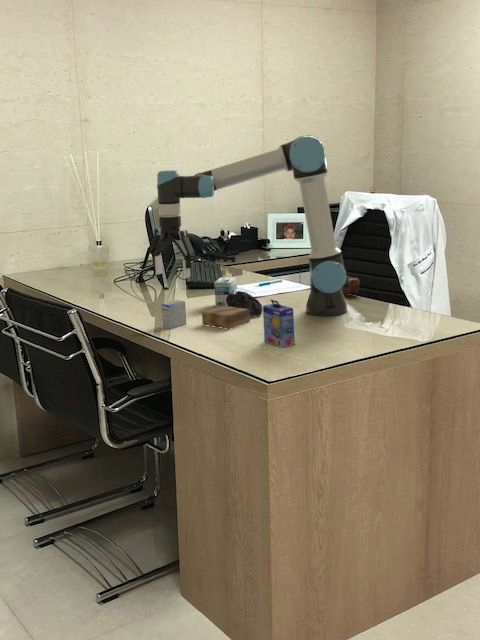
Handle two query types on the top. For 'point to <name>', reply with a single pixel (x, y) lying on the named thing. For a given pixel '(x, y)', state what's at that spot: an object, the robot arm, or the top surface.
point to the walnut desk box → (226, 317)
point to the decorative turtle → (350, 286)
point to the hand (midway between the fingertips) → (172, 275)
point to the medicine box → (173, 314)
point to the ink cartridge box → (278, 325)
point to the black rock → (245, 303)
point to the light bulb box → (224, 290)
